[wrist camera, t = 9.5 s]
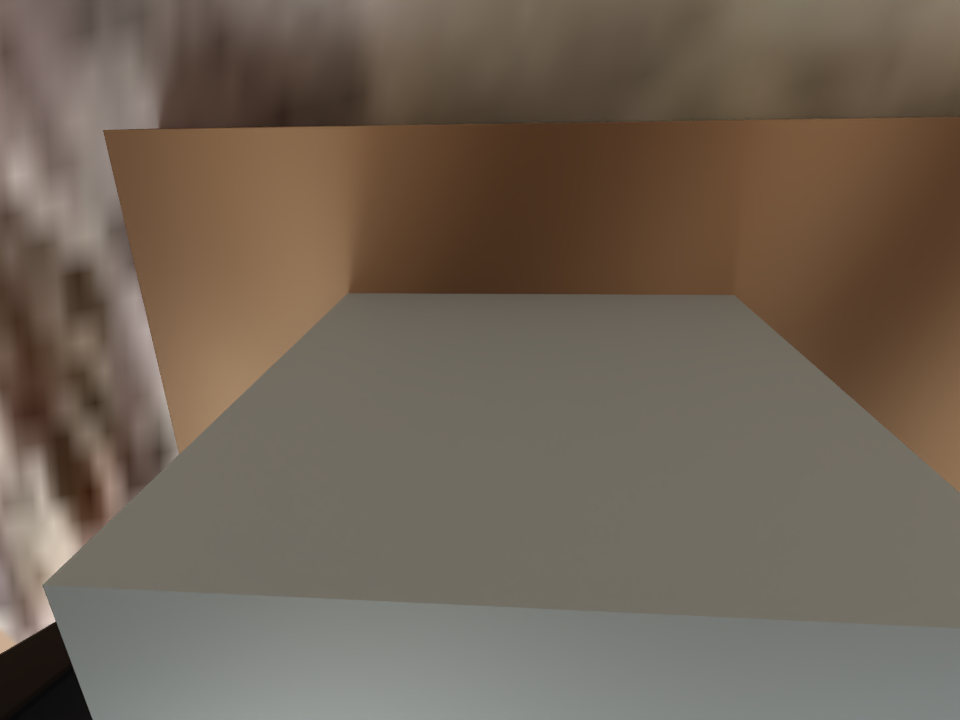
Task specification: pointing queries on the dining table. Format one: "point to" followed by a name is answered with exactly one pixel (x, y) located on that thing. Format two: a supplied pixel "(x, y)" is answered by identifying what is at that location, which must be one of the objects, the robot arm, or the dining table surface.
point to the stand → (558, 239)
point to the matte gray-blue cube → (528, 531)
